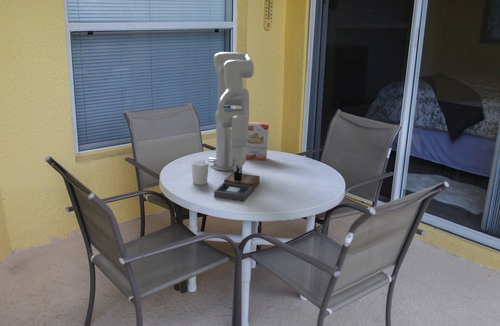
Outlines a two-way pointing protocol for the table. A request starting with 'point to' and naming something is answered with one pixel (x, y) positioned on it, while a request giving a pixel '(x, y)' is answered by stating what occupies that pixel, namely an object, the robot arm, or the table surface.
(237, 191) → the tile
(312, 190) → the table surface
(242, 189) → the tray
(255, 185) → the board
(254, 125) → the cracker box
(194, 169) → the white cup
